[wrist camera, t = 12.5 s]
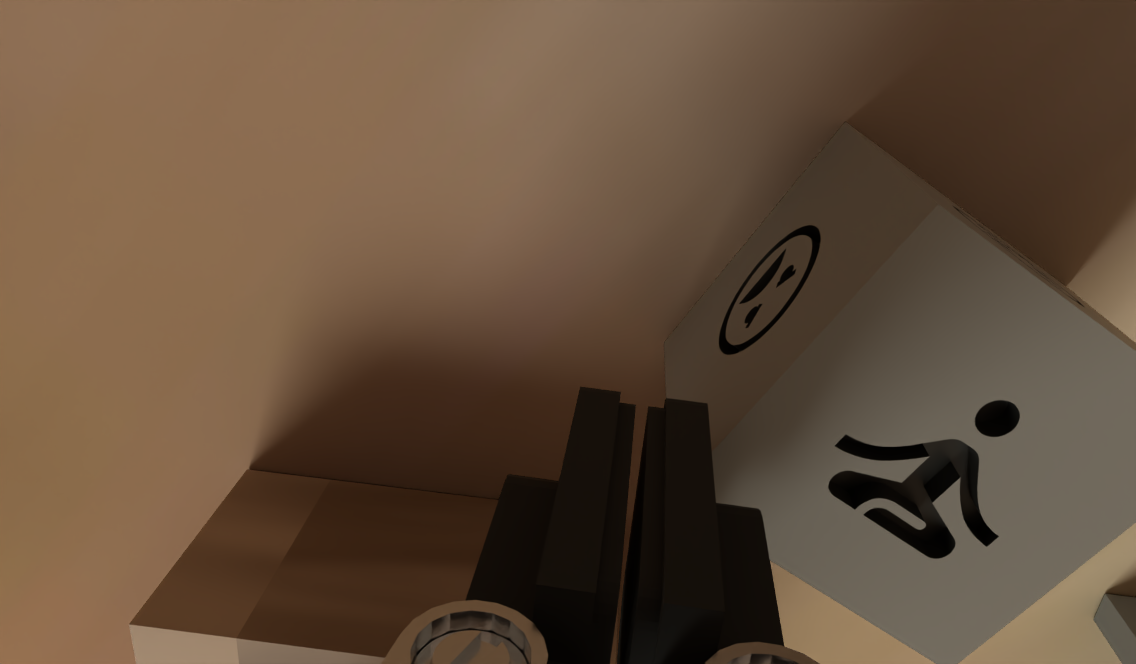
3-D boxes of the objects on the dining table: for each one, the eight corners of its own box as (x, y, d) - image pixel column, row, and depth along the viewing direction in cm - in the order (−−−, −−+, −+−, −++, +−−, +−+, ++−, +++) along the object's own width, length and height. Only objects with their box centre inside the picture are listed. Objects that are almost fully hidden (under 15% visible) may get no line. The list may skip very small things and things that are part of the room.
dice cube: (663, 340, 16) (670, 497, 11) (844, 120, 14) (938, 204, 9) (867, 475, 17) (948, 671, 12) (1064, 284, 15) (1246, 434, 10)
